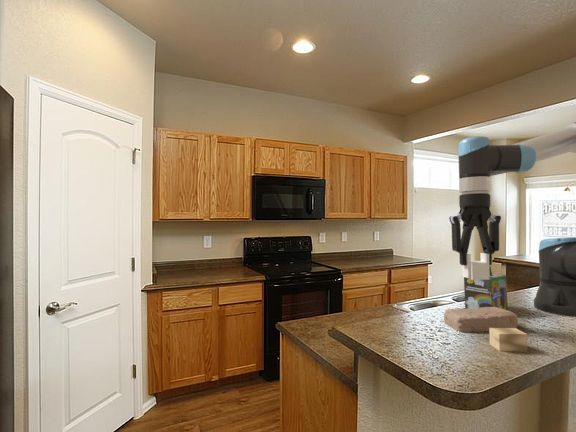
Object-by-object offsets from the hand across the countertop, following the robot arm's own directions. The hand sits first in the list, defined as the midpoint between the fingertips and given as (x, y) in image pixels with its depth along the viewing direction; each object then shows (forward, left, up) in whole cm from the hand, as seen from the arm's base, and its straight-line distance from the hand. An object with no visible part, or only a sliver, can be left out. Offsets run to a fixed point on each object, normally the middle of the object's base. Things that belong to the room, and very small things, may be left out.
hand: (475, 276), depth 90 cm
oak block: (+2, +15, -14) cm, 21 cm away
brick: (-1, 0, -14) cm, 14 cm away
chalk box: (-12, -15, -14) cm, 24 cm away
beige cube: (0, 0, 0) cm, 0 cm away
